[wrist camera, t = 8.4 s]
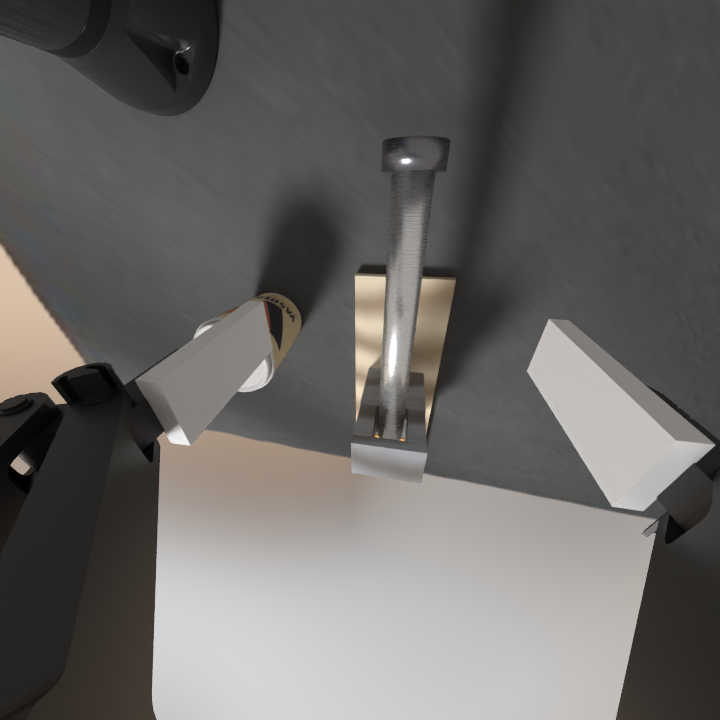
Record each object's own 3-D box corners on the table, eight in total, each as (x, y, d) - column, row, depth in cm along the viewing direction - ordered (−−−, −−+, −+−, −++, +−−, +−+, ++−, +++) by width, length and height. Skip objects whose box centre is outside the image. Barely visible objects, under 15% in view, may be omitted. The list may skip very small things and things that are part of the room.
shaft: (385, 147, 20) (379, 137, 16) (446, 145, 19) (454, 135, 15) (374, 418, 34) (369, 445, 31) (408, 422, 34) (407, 450, 30)
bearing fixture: (356, 273, 34) (322, 322, 21) (454, 277, 32) (482, 334, 19) (357, 443, 51) (338, 528, 38) (421, 452, 49) (424, 544, 36)
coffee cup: (317, 307, 37) (281, 350, 27) (294, 355, 42) (258, 406, 32) (255, 273, 36) (195, 304, 26) (240, 326, 41) (184, 370, 31)
